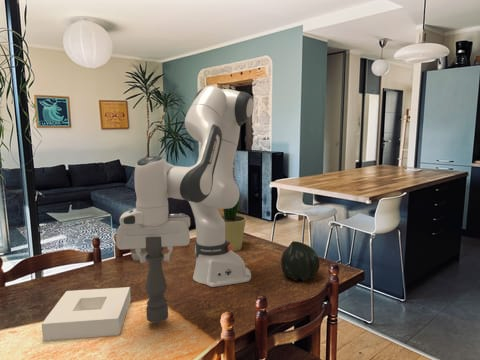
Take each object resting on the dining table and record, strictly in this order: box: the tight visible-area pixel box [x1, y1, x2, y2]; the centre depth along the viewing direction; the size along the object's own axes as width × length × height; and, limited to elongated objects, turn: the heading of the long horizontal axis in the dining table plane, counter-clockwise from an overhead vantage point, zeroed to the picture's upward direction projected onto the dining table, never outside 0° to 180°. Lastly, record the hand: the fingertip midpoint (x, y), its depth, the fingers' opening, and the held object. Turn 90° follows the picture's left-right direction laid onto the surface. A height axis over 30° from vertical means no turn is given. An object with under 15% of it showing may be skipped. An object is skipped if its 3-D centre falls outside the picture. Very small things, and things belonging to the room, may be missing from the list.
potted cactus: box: [220, 199, 247, 252], centre depth 171 cm, size 15×15×30 cm
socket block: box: [41, 286, 131, 342], centre depth 108 cm, size 20×20×5 cm
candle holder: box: [144, 237, 169, 324], centre depth 104 cm, size 6×6×25 cm
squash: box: [280, 240, 320, 282], centre depth 138 cm, size 14×15×15 cm
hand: (155, 261), depth 103 cm, fingers closed on candle holder, 5 cm apart
